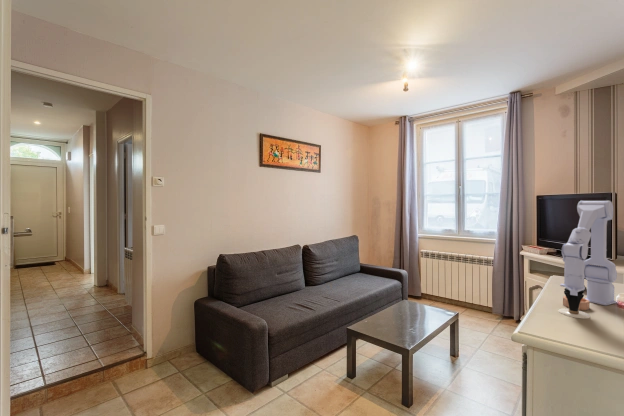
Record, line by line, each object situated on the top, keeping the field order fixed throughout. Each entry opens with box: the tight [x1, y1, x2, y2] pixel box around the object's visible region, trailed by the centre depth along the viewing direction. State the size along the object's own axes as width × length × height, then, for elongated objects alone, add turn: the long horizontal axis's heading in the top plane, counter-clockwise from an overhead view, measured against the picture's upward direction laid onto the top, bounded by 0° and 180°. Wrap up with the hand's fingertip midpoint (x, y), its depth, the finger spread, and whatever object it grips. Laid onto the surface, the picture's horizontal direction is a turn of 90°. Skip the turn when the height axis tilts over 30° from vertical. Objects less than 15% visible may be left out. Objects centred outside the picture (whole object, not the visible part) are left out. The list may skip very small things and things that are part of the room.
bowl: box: [562, 295, 590, 311], centre depth 120 cm, size 8×8×3 cm
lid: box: [557, 307, 591, 319], centre depth 113 cm, size 9×9×4 cm
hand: (573, 309), depth 113 cm, fingers closed on lid, 3 cm apart
